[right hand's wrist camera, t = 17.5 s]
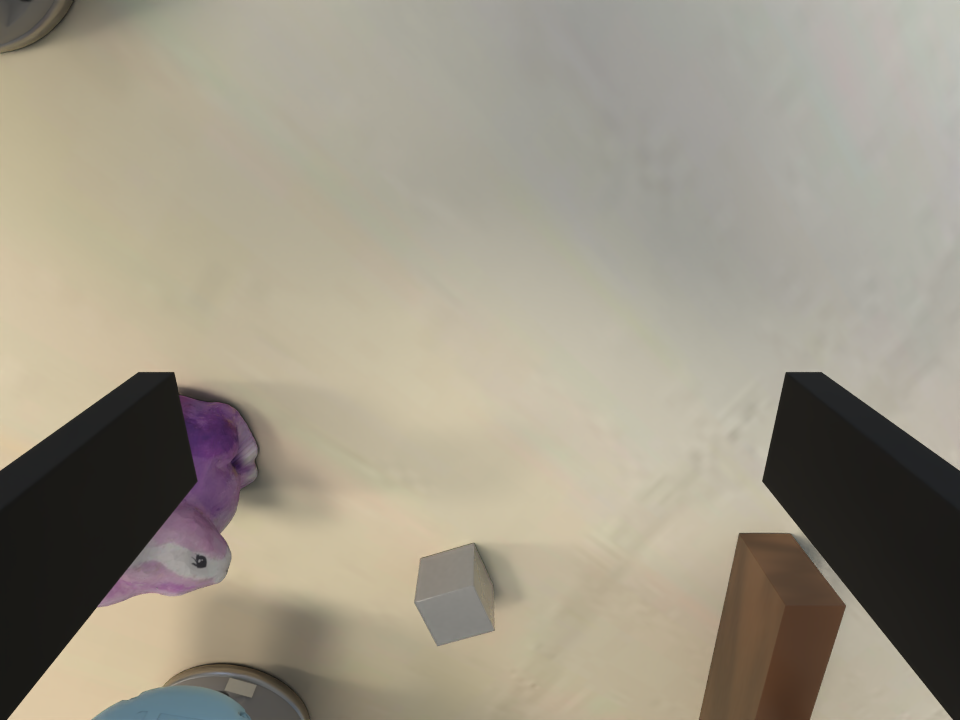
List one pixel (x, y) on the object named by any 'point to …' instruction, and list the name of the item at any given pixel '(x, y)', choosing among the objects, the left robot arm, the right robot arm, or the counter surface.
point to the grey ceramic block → (455, 595)
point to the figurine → (197, 509)
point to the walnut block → (771, 633)
